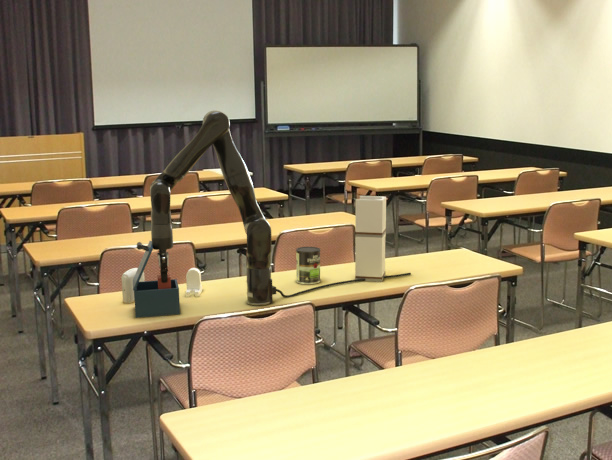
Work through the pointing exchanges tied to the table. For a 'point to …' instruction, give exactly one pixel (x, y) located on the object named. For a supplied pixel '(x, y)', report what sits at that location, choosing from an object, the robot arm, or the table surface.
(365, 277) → the tall white pillar box
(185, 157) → the robot arm
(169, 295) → the box
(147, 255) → the freezer lid
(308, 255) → the coffee can
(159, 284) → the block
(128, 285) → the photo printer
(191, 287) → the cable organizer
